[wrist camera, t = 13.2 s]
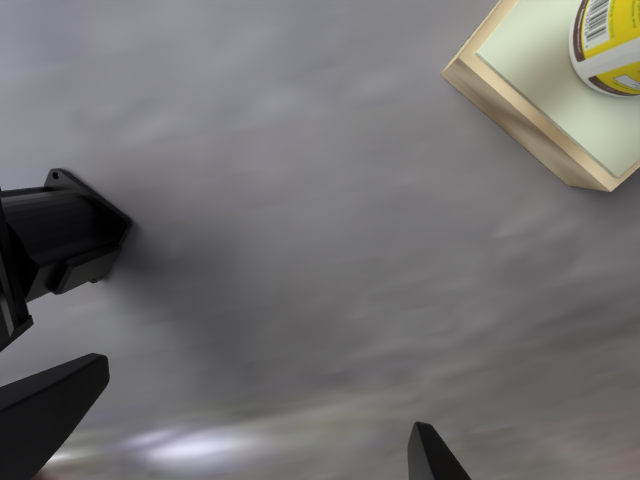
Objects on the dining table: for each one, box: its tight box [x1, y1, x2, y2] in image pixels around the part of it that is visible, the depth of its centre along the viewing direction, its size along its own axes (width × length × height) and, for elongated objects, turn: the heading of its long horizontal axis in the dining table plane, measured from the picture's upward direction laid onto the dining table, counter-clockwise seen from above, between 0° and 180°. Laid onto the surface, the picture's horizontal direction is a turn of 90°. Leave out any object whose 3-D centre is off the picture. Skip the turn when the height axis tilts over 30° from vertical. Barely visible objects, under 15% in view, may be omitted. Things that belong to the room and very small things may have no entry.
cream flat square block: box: [440, 0, 640, 192], centre depth 14 cm, size 10×10×4 cm
